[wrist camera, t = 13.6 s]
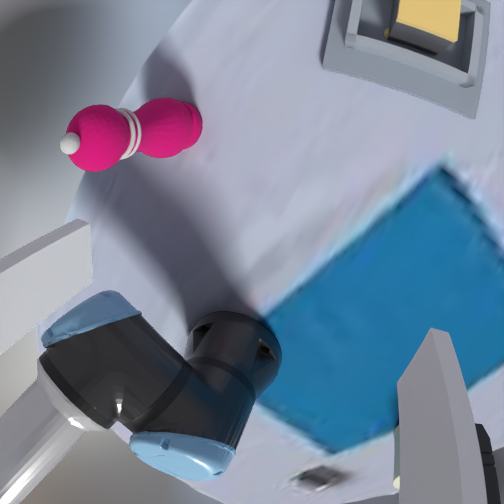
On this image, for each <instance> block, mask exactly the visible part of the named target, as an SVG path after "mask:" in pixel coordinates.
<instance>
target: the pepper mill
mask: <svg viewBox="0 0 504 504" xmlns="http://www.w3.org/2000/svg"><path fill="white" fill-rule="evenodd" d="M201 132H202V119H201V116H200V114H199V112H198V110H197V109H196V108H195V107H194V106H192V105H191V104H189V103H185V102H179V101H177V100H175V99H172V98H158V99H154V100H151V101H149V102H147V103H145V104H144V105H142V106H141V107H140V108H139V109H138V110H136V111H134V112H131V111H130V110H128V109H123V108H119V109H114V108H112V107H110V106H108V105H92V106H89V107H87V108H84V109H83V110H81V111H79V112H78V113H77V114H76V115H75V116H74V117H73V119H72V120H71V122H70V123H69V126H68V128H67V131H66V134H65V135H64V136H63V137H62V138H61V140H60V148H61V150H62V152H64V153H65V154H68V155H69V157H70V159H71V160H72V162H73V163H74V164H75V165H76V166H78V167H79V168H81V169H83V170H85V171H90V172H98V171H103V170H106V169H108V168H110V167H112V166H114V165H115V164H116V163H117V162H118V161H119V160H121V159H126V158H128V157H130V156H131V155H133V154H134V153H135V151H141V152H142V153H144V154H146V155H148V156H151V157H155V158H166V157H171V156H174V155H176V154H178V153H180V152H181V151H182V150H183V149H186V148H189V147H191V146H192V145H194V144H195V143H196V142H197V140H198V139H199V137H200V135H201Z"/></svg>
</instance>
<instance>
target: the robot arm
mask: <svg viewBox="0 0 504 504" xmlns="http://www.w3.org/2000/svg"><path fill="white" fill-rule="evenodd" d="M93 281H94V280H93V268H92V252H91V229H90V223H88V222H85V221H82V220H79V219H76V220H74V221H72V222H70V223H68V224H66V225H64V226H62V227H60V228H58V229H56V230H54V231H52V232H50V233H48V234H46V235H44V236H42V237H40V238H38V239H37V240H35V241H33V242H31V243H29V244H27V245H25V246H23V247H22V248H20V249H18V250H16V251H14V252H12V253H11V254H9V255H7V256H5V257H4V258H2V259H0V355H1V354H2V353H4V352H5V351H6V350H7V349H8V348H10V347H11V346H12V345H13V344H14V343H15V342H17V341H18V340H19V339H20V338H21V337H23V336H24V335H25V334H26V333H28V332H29V331H30V330H31V329H33V328H34V327H35V326H36V325H38V324H39V323H40V322H41V321H43V320H44V319H45V318H46V317H48V316H49V315H50V314H51V313H53V312H54V311H55V310H57V309H58V308H59V307H60V306H62V305H63V304H64V303H66V302H67V301H68V300H70V299H71V298H72V297H73V296H75V295H76V294H77V293H79V292H80V291H81V290H83V289H84V288H85V287H87V286H88V285H89V284H91V283H92V282H93ZM141 314H142V313H141V312H140V311H138V310H136V309H135V308H134V307H133V306H132V305H131V304H130V303H129V302H128V301H127V300H126V299H125V298H124V297H123V296H122V295H121V294H120V293H118V292H116V291H112V290H107V291H103V292H100V293H98V294H96V295H94V296H92V297H90V298H88V299H87V300H85V301H83V302H82V303H80V304H79V305H77V306H76V307H74V308H73V309H71V310H70V311H69V312H67V313H66V314H65V315H63V316H62V317H61V318H59V319H58V320H57V321H56V322H55V323H54V324H53V325H52V326H51V327H50V328H49V329H48V330H46V331H45V332H44V334H43V335H42V338H41V340H42V342H43V346H44V347H45V348H47V350H46V351H45V352H44V353H43V354H42V355H41V356H40V357H39V358H38V359H37V367H38V376H37V379H36V380H35V381H34V382H33V383H32V384H31V385H30V386H29V387H28V388H27V389H26V391H25V392H24V393H23V394H22V395H21V396H20V397H19V398H18V399H17V400H16V401H15V402H14V404H13V405H12V406H11V407H10V408H9V409H8V410H7V411H6V412H5V413H4V415H3V416H2V417H1V418H0V504H19V503H20V502H21V501H22V500H23V499H24V498H25V497H26V496H27V495H28V493H29V492H31V491H32V490H33V488H34V487H35V486H36V485H37V484H38V483H39V482H40V481H41V480H42V479H43V478H44V477H45V476H46V475H47V474H48V473H49V472H50V471H51V470H52V469H53V468H54V467H55V466H56V465H57V464H58V462H60V461H61V459H62V458H63V457H64V456H65V455H66V454H67V453H68V452H69V451H70V450H71V449H72V448H73V447H74V446H75V445H76V444H77V443H78V442H79V441H80V440H81V439H82V437H83V436H85V434H86V433H87V432H88V431H91V430H95V431H107V430H109V428H110V427H111V426H112V425H113V424H114V423H115V422H116V421H119V422H121V423H122V424H123V425H124V426H125V427H127V428H128V429H129V430H130V431H131V432H132V433H133V434H132V435H131V437H130V442H129V445H130V448H131V450H132V451H133V452H134V453H135V455H136V456H137V457H138V458H140V459H141V460H142V461H144V462H145V463H147V464H149V465H150V466H152V467H154V468H156V469H158V470H160V471H162V472H164V473H167V474H170V475H172V476H175V477H179V478H182V479H187V480H192V481H211V480H214V479H217V478H219V477H220V476H222V475H223V474H224V472H225V471H226V469H227V467H228V465H229V463H230V462H231V460H232V458H233V457H234V456H235V454H236V448H237V446H238V443H239V441H240V438H241V436H242V433H243V431H244V428H245V426H246V423H247V421H248V418H249V415H250V413H251V410H252V407H253V405H254V402H255V400H256V399H257V398H258V397H259V396H260V395H261V394H262V393H263V391H264V390H265V389H266V388H267V387H268V386H269V385H270V384H271V383H272V382H273V381H274V379H275V378H276V376H277V374H278V371H279V368H280V365H281V361H282V354H281V349H280V346H279V344H278V342H277V340H276V339H275V337H274V336H273V335H272V333H271V332H270V331H269V330H268V329H267V328H265V327H264V326H263V325H262V324H260V323H259V322H257V321H256V320H254V319H252V318H250V317H247V316H245V315H242V314H238V313H234V312H215V313H211V314H209V315H206V316H204V317H203V318H201V319H200V320H199V321H198V322H197V324H196V325H195V326H194V328H193V329H192V331H191V332H190V334H189V337H188V340H187V345H186V350H185V355H184V358H183V357H182V356H181V355H180V354H179V353H178V352H177V351H176V350H175V349H174V348H173V347H172V346H171V345H170V344H169V343H168V342H167V341H166V340H165V339H164V338H163V337H162V336H161V335H160V334H159V333H158V332H157V331H156V330H155V329H154V328H153V327H152V326H151V325H150V324H149V323H148V322H147V321H146V320H145V319H144V318H143V317H142V315H141ZM397 391H398V406H399V428H400V490H399V504H501V502H500V494H499V487H498V480H497V474H496V468H495V467H494V464H495V462H494V457H493V455H492V447H491V442H490V438H489V436H488V434H487V432H486V431H485V429H484V427H483V425H482V424H475V423H474V419H473V414H472V410H471V406H470V402H469V398H468V394H467V390H466V387H465V383H464V380H463V376H462V373H461V369H460V366H459V363H458V360H457V356H456V353H455V350H454V347H453V344H452V341H451V338H450V335H449V333H448V332H445V331H441V330H437V329H433V328H430V330H429V332H428V334H427V335H426V337H425V339H424V341H423V342H422V344H421V346H420V347H419V349H418V351H417V352H416V354H415V356H414V357H413V359H412V360H411V362H410V364H409V365H408V367H407V368H406V370H405V371H404V373H403V375H402V376H401V378H400V379H399V381H398V382H397Z"/></svg>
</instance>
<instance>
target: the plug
mask: <svg viewBox="0 0 504 504" xmlns="http://www.w3.org/2000/svg"><path fill="white" fill-rule="evenodd" d="M460 9H461V0H393V7H392V13H391V20H390V26H389V32H388V38H387V39H388V40H391V41H394V42H398V43H401V44H404V45H407V46H410V47H413V48H415V49H418V50H421V51H424V52H426V53H429V54H432V55H434V56H435V55H437V54H438V53H440V52H441V51H443V50H444V49H445V48H447V47H448V46H450V45H451V44H453V43H454V42H456V41H457V39H458V30H459V20H460Z"/></svg>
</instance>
